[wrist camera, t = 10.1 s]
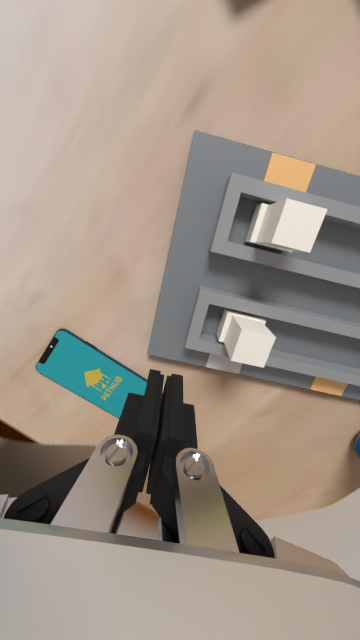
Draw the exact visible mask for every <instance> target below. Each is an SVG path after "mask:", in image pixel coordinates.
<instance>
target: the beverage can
mask: <svg viewBox="0 0 360 640" xmlns="http://www.w3.org/2000/svg"><path fill="white" fill-rule="evenodd" d="M355 451H356V453H357V455H358V456H359V457H360V433H359V435H358V436H357V439H356V442H355Z"/></svg>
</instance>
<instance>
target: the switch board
mask: <svg viewBox="0 0 360 640" xmlns="http://www.w3.org/2000/svg"><path fill="white" fill-rule="evenodd" d="M286 198H288V199H292V200H295V201H299V202H303V203H307V204H310V205H314V206H318V207H322V208H325V209H328V210H327V212H326V215H325V217H324V220H323V222H322V224H321V227H320V229H319V232H318V234H317V237H316V239H315V242H314V244H313V247H312V249H311V252H310V253H308V252H300V251H292V252H285V251H281V250H277V249H273V248H269V247H265V246H261V245H257V244H253V243H249V242H245V239H246V236H247V233H248V230H249V227H250V223H251V220H252V217H253V214H254V210H255V207H256V206H257V205H259V204H261V203H264V204H268V205H271V204H273V203H276V202H279V201H281V200H284V199H286ZM224 308H229V309H233V310H238V311H242V312H246V313H250V314H255V315H259V316H261V317H262V318H263V319H264V320H265V321H266V323H265V326H266V327H267V328H268V329H269V330H270V331H271V332H272V334H273V335H274V336H275V337H276V339H275V341H274V344H273V346H272V349H271V351H270V354H269V356H268V358H267V361H266V363H265V366H264V368H262V367H258V366H253V365H248V364H244V363H239V362H235V361H231V360H230V357H229V354H228V352H227V349H226V347H225V344H224V342H220V341H218V338H217V335H216V334H217V331H218V327H219V324H220V321H221V318H222V314H223V311H224ZM147 354H148V355H153V356H157V357H162V358H167V359H171V360H176V361H181V362H185V363H190V364H195V365H199V366H204V367H208V368H213V369H217V370H222V371H227V372H231V373H236V374H241V375H246V376H250V377H255V378H260V379H264V380H269V381H274V382H278V383H283V384H288V385H292V386H297V387H302V388H306V389H311V390H315V391H320V392H325V393H329V394H334V395H338V396H344V397H348V398H353V399H357V400H360V176H357V175H353V174H350V173H346V172H342V171H339V170H335V169H332V168H328V167H325V166H321V165H317V164H314V163H310V162H307V161H303V160H300V159H296V158H292V157H289V156H285V155H282V154H278V153H275V152H271V151H267V150H264V149H260V148H257V147H253V146H250V145H246V144H242V143H239V142H235V141H232V140H228V139H225V138H221V137H217V136H214V135H210V134H207V133H203V132H200V131H196V130H194V134H193V139H192V144H191V148H190V153H189V158H188V163H187V167H186V172H185V177H184V182H183V187H182V191H181V196H180V201H179V206H178V210H177V215H176V220H175V225H174V229H173V234H172V239H171V244H170V248H169V253H168V258H167V263H166V267H165V272H164V277H163V282H162V286H161V291H160V296H159V301H158V306H157V310H156V315H155V320H154V325H153V329H152V334H151V339H150V344H149V348H148V353H147Z"/></svg>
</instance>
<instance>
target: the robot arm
mask: <svg viewBox="0 0 360 640" xmlns="http://www.w3.org/2000/svg"><path fill="white" fill-rule="evenodd" d="M160 372H161V371H157V370H152V369H150V372H149V376H148V380H147V385H146V389H145V393H144V395H139V394H134V393H128V395H127V398H126V401H125V404H124V407H123V410H122V413H121V416H120V419H119V422H118V425H117V428H116V431H115V434H114V435H111V436H108V437H106V438H105V439H103V440H102V441H101V442H100V443H99V444H98V446H97V447H96V449H95V451H94V452H93V454H92V456H91V457H90V458H89V459H87V460H85V461H83V462H81V463H79V464H77V465H76V466H73V467H71V468H70V469H68V470H66V471H64V472H62V473H60V474H58V475H56V476H54V477H52V478H50V479H48V480H47V481H45V482H43V483H41V484H39V485H37V486H35V487H33V488H31V489H29V490H28V491H26V492H24V493H23V494H21V495H20V496H18V497H17V498H8V495H0V640H360V582H359V581H357V580H355V579H353V578H350V577H348V575H347V574H346V573H345V572H344V571H343V570H342V569H341V568H340V567H339V566H338V565H337V564H335V563H333V562H332V561H330V560H328V559H326V558H323V557H321V556H319V555H317V554H314V553H312V552H309V551H307V550H305V549H302V548H300V547H298V546H295V545H293V544H291V543H288V542H286V541H284V540H282V539H279V538H277V537H274V538H273V539H270V538H268V536H267V535H266V534H265V532H264V531H263V530H262V529H261V527H260V526H259V525H258V524H257V523H256V522H255V521H254V520H253V519H252V518H251V517H250V516H249V515H248V514H247V513H246V512H245V511H244V510H243V509H242V508H241V507H240V505H239V504H238V503H237V502H236V501H235V500H234V499H233V498H232V497H231V496H230V495H229V494H228V493H227V492H226V491H225V490H224V489H223V488H222V487H221V486H220V485H219V482H218V478H217V475H216V472H215V468H214V465H213V463H212V461H211V459H210V458H209V457H208V455H206V454H205V453H204V452H203V451H201V450H199V449H198V448H197V436H196V423H195V411H194V406H193V405H190V404H185V403H183V376H181V375H176V374H172V375H171V376H167V379H166V383H165V387H164V391H163V395H162V389H163V381H164V375H162V374H160ZM161 398H162V399H161ZM150 460H151V461H150ZM149 464H150V468H149ZM148 468H149V475H148V483H147V490H146V493H147V494H151V498H150V504H152V506H153V507H154V509H155V510H156V512H157V513H158V515H159V516H158V538H159V540H152V539H145V538H139V537H132V536H125V535H118V534H117V532H118V529H119V526H120V523H121V521H122V518H123V513H124V512H125V511H126V510H127V509H129V508H130V507H131V506H132V505H134V504H135V503H136V499H137V495H138V492H141V493H142V491H143V487H144V484H145V480H146V476H147V472H148Z"/></svg>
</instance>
